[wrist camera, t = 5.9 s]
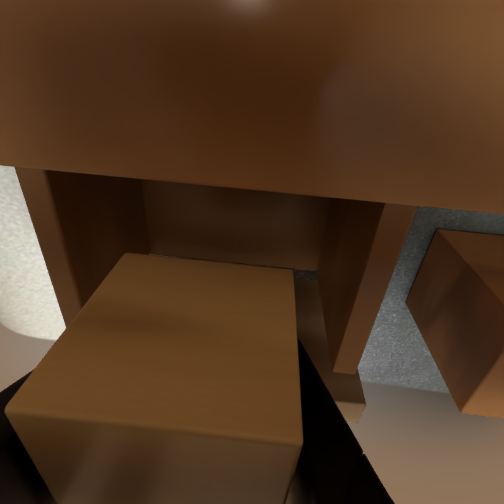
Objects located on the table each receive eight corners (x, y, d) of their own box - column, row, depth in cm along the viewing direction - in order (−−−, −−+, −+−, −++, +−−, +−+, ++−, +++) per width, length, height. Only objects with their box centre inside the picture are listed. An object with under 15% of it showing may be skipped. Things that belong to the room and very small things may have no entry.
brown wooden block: (490, 311, 19) (583, 428, 13) (405, 302, 19) (459, 414, 13) (535, 238, 16) (678, 343, 11) (436, 228, 17) (522, 326, 11)
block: (274, 378, 11) (272, 555, 7) (142, 363, 11) (69, 530, 7) (293, 268, 8) (305, 445, 5) (124, 250, 9) (-2, 410, 5)
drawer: (319, 348, 21) (336, 476, 14) (143, 329, 21) (85, 445, 15) (403, 35, 12) (537, 18, 6) (96, 10, 12) (-98, -33, 6)
